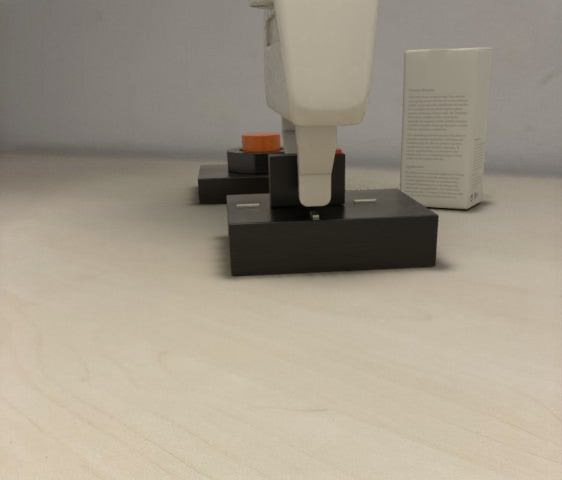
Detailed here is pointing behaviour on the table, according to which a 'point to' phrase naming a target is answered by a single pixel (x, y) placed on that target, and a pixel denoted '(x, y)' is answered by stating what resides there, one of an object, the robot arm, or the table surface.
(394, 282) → the table surface
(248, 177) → the button block
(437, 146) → the cosmetic box
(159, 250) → the table surface
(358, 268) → the panel
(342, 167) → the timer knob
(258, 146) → the button
